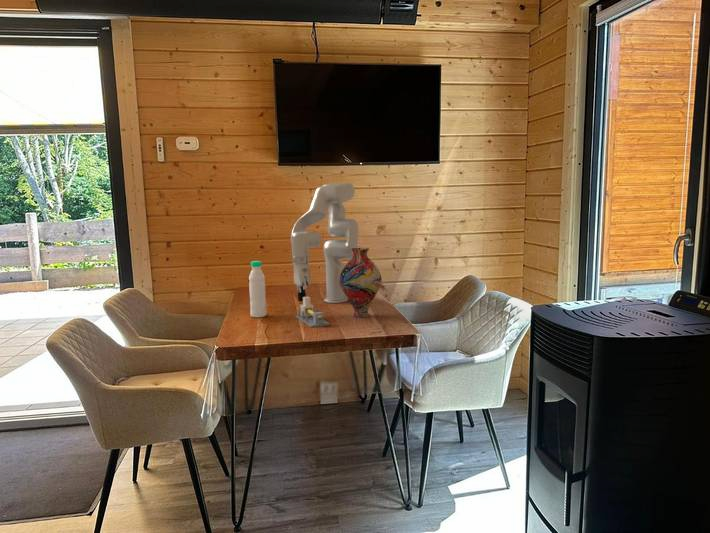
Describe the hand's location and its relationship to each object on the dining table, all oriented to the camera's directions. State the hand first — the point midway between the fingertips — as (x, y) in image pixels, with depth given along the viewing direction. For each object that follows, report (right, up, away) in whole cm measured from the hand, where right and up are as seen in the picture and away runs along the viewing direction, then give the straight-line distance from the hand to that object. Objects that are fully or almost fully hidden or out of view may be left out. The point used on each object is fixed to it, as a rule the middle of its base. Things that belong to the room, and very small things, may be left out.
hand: (302, 300), depth 217 cm
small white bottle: (+3, -6, -5) cm, 8 cm away
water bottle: (-20, -7, +1) cm, 21 cm away
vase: (+27, -7, -1) cm, 27 cm away
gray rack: (+5, -8, -10) cm, 14 cm away
